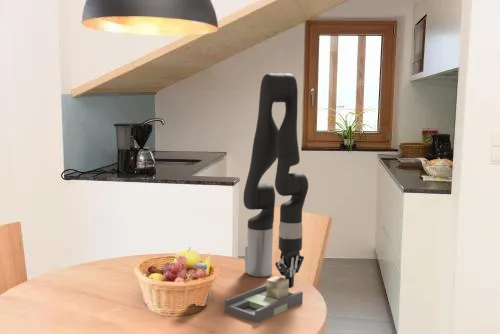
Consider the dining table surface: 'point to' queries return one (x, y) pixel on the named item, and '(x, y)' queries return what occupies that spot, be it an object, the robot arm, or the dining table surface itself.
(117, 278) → the dining table surface
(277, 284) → the maple block
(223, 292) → the dining table surface
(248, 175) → the robot arm
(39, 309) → the dining table surface
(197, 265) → the salt shaker
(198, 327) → the dining table surface
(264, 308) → the trap lane
